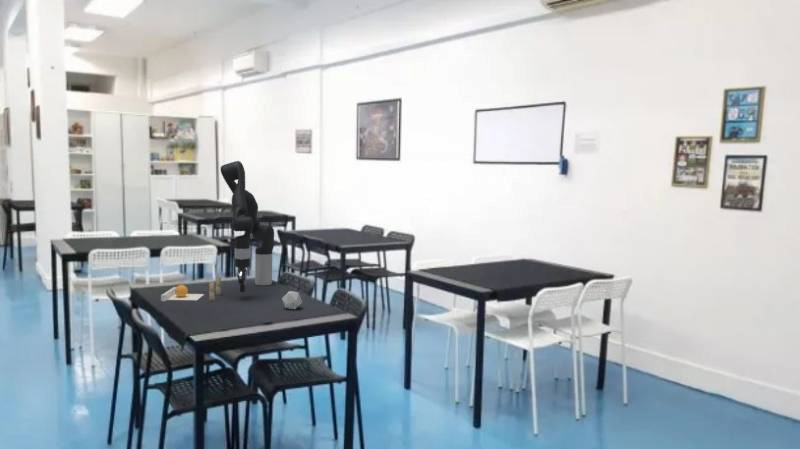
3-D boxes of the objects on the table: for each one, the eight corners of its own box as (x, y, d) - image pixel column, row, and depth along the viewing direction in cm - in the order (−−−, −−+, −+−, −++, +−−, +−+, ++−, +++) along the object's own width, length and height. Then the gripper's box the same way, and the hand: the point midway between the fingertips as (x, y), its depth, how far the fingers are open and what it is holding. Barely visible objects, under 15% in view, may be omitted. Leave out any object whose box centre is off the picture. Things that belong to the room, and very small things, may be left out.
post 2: (216, 294, 306) (216, 276, 305) (221, 294, 306) (221, 276, 305) (215, 295, 304) (215, 277, 303) (220, 295, 304) (220, 277, 303)
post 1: (209, 299, 293) (210, 281, 292) (214, 300, 293) (215, 281, 292) (208, 301, 290) (208, 282, 289) (213, 301, 290) (213, 282, 290)
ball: (180, 282, 300) (191, 287, 300) (174, 292, 300) (185, 298, 300) (176, 283, 294) (188, 289, 294) (171, 294, 294) (182, 300, 294)
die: (286, 312, 274) (299, 296, 274) (275, 301, 278) (288, 284, 278) (295, 315, 282) (308, 299, 281) (284, 304, 286) (297, 288, 286)
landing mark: (176, 294, 304) (176, 293, 304) (204, 294, 305) (204, 294, 305) (167, 300, 290) (167, 299, 290) (196, 300, 291) (197, 300, 291)
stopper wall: (173, 292, 306) (173, 287, 306) (177, 292, 307) (177, 287, 306) (161, 301, 287) (161, 295, 286) (165, 301, 287) (165, 295, 286)
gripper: (237, 255, 303) (237, 289, 304) (232, 259, 290) (232, 294, 291) (252, 255, 303) (252, 289, 305) (247, 259, 290) (248, 294, 292)
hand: (242, 291), depth 298 cm, fingers closed
